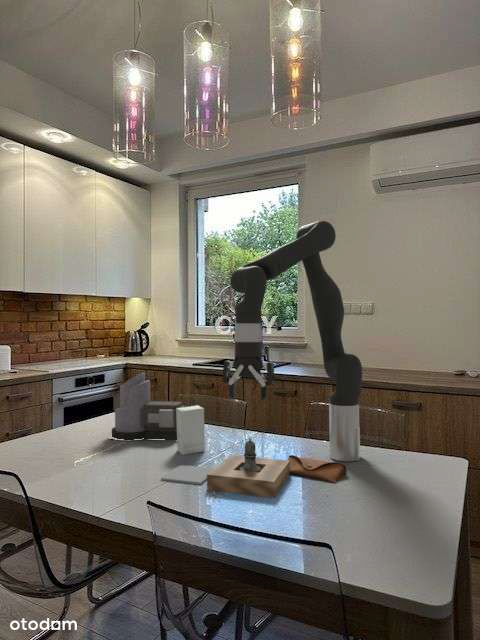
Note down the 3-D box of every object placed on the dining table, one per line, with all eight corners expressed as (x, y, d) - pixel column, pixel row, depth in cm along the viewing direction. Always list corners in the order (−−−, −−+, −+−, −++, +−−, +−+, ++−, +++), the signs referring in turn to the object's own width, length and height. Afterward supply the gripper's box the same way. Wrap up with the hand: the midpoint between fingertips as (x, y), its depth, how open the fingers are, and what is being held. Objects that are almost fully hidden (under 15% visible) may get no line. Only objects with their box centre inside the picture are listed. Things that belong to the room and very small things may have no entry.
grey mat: (217, 470, 135) (217, 468, 135) (201, 484, 124) (201, 482, 124) (180, 466, 139) (180, 464, 139) (161, 480, 128) (161, 477, 128)
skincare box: (199, 447, 160) (198, 404, 160) (205, 452, 155) (205, 407, 155) (176, 450, 156) (175, 407, 156) (181, 455, 151) (181, 410, 151)
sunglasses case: (276, 473, 132) (281, 450, 135) (285, 479, 138) (289, 457, 140) (338, 483, 123) (341, 459, 126) (344, 490, 129) (348, 466, 132)
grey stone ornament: (259, 486, 122) (258, 441, 122) (237, 485, 123) (237, 440, 123) (262, 479, 128) (262, 435, 128) (241, 477, 129) (241, 434, 129)
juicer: (101, 440, 171) (100, 374, 171) (118, 430, 187) (117, 370, 187) (179, 443, 167) (179, 375, 167) (190, 432, 183) (190, 370, 183)
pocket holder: (290, 474, 131) (289, 460, 131) (274, 497, 114) (273, 481, 114) (230, 468, 137) (230, 455, 137) (206, 489, 120) (206, 474, 120)
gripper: (277, 340, 127) (277, 398, 127) (229, 339, 132) (229, 395, 132) (269, 341, 120) (269, 403, 120) (218, 340, 125) (218, 400, 125)
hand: (248, 399), depth 126 cm, fingers open, 8 cm apart
